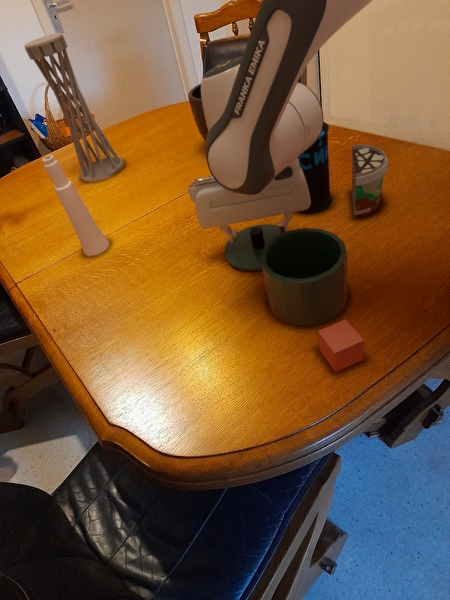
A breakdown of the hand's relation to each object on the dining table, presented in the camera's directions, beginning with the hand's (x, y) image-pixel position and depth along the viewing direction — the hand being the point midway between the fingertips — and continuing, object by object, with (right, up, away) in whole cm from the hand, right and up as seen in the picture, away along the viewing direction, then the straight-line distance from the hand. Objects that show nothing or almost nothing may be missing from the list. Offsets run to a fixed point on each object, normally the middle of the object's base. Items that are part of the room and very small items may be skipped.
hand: (258, 235), depth 77 cm
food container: (+23, +7, +5) cm, 25 cm away
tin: (+7, -12, -9) cm, 17 cm away
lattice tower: (-43, +27, +46) cm, 69 cm away
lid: (0, -2, +2) cm, 3 cm away
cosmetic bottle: (-36, 0, +16) cm, 39 cm away
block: (+10, -20, -19) cm, 29 cm away
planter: (-4, +32, +39) cm, 50 cm away
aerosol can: (+12, +8, +10) cm, 18 cm away
